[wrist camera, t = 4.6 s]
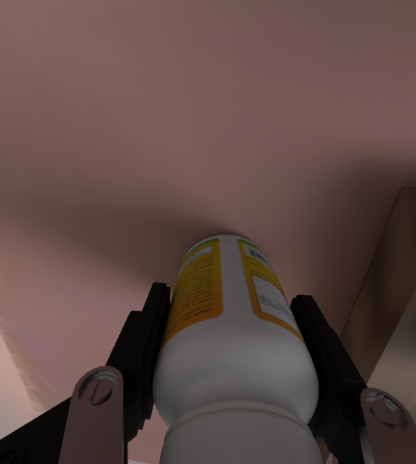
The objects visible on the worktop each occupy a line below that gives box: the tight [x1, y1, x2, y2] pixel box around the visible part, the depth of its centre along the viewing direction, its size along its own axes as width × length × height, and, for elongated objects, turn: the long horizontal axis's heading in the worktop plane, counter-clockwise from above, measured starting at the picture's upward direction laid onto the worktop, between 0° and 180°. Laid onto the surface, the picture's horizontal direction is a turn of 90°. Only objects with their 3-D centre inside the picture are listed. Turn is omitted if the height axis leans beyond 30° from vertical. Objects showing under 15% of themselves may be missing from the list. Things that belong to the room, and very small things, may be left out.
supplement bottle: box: [152, 235, 324, 464], centre depth 10 cm, size 5×5×10 cm
